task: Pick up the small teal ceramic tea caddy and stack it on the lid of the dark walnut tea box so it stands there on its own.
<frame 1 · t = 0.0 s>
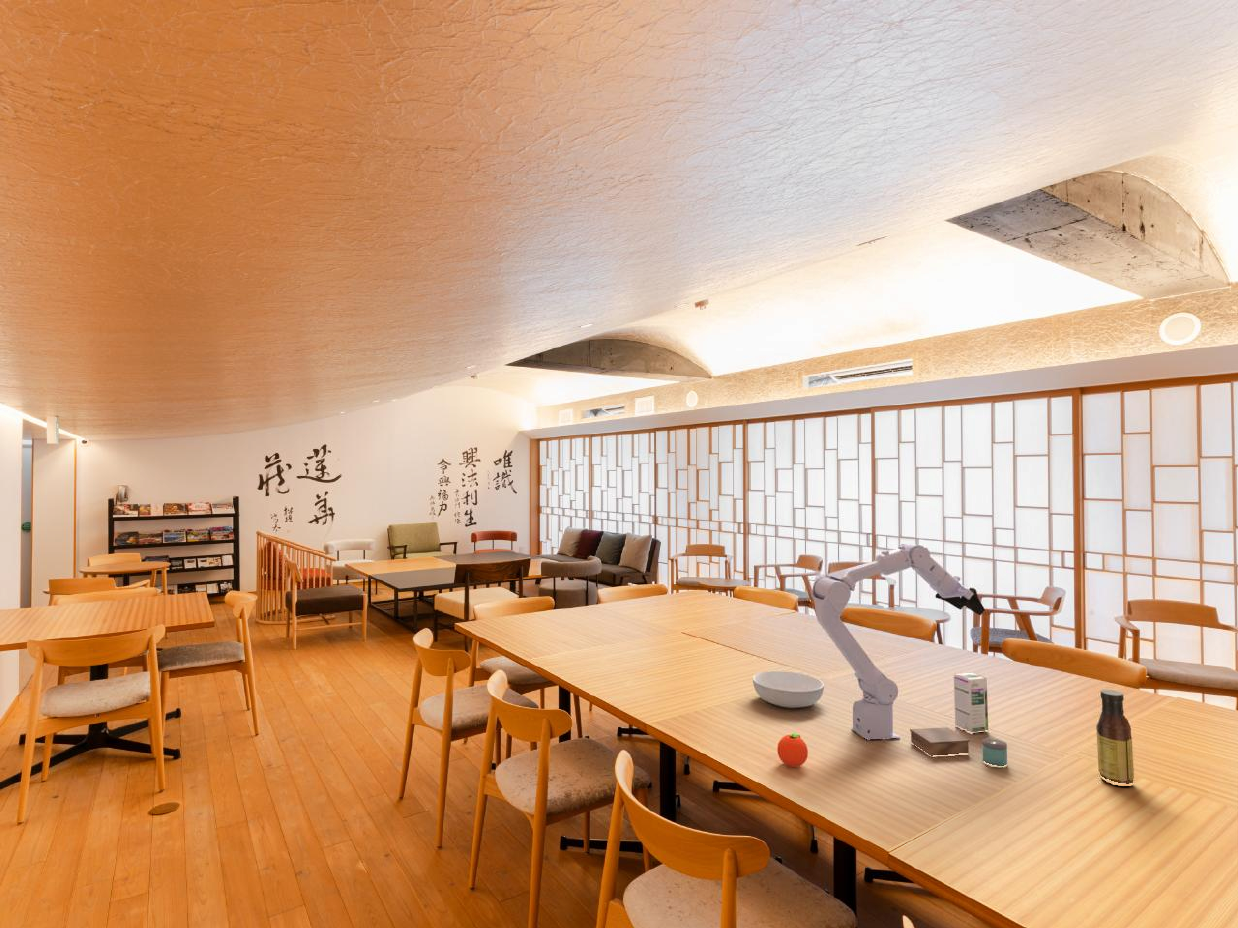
hand: (972, 609, 172), 32 cm above the table, tool tilted 50°, fingers open, 7 cm apart
tea caddy: (994, 763, 149), on the table
tomato: (793, 765, 148), on the table
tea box: (939, 750, 157), on the table
serving bowl: (788, 703, 191), on the table
syrup box: (971, 730, 170), on the table
sauce bottle: (1115, 783, 140), on the table
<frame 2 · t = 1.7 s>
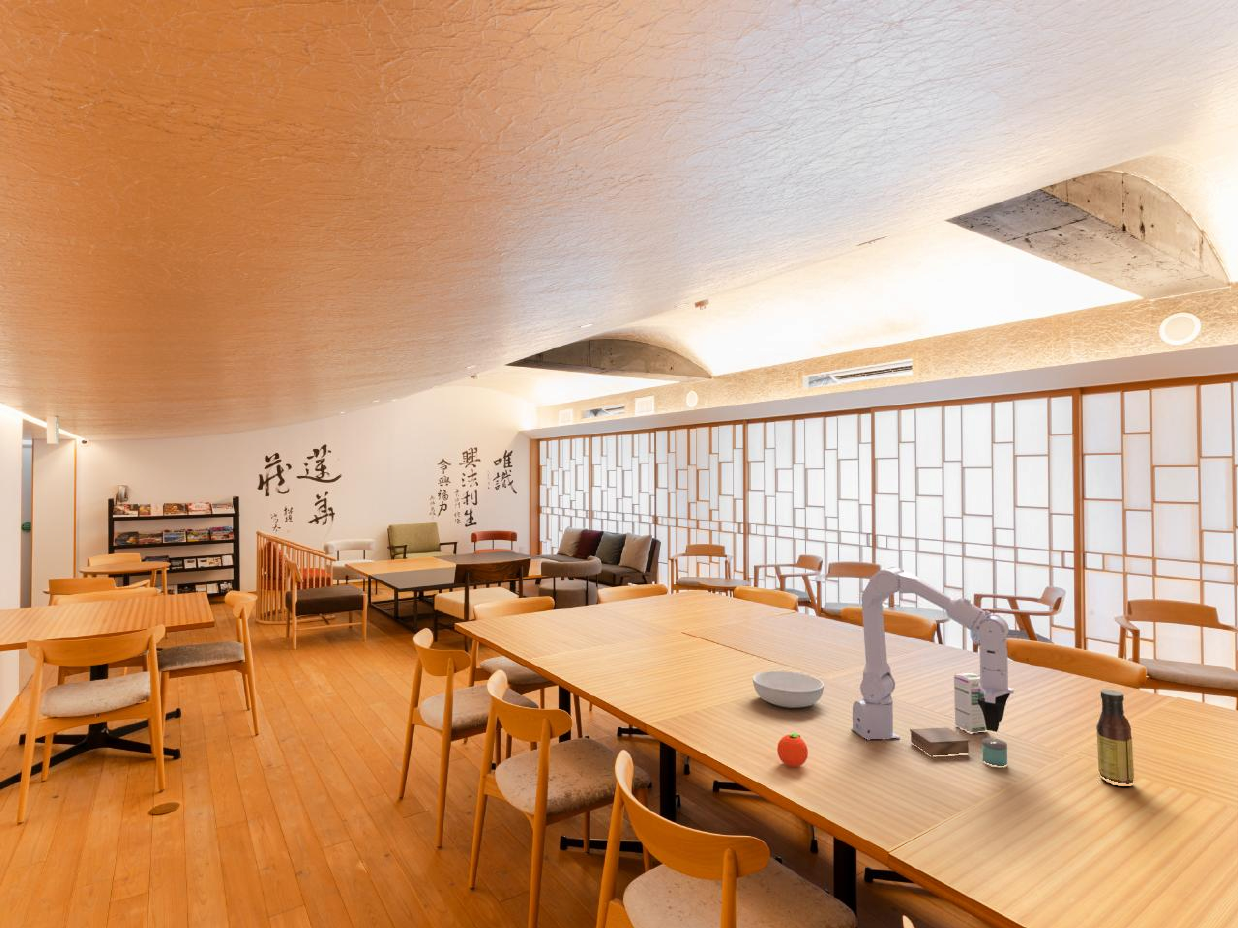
hand: (994, 725, 150), 9 cm above the table, tool pointing down, fingers open, 7 cm apart
nothing on the table moved.
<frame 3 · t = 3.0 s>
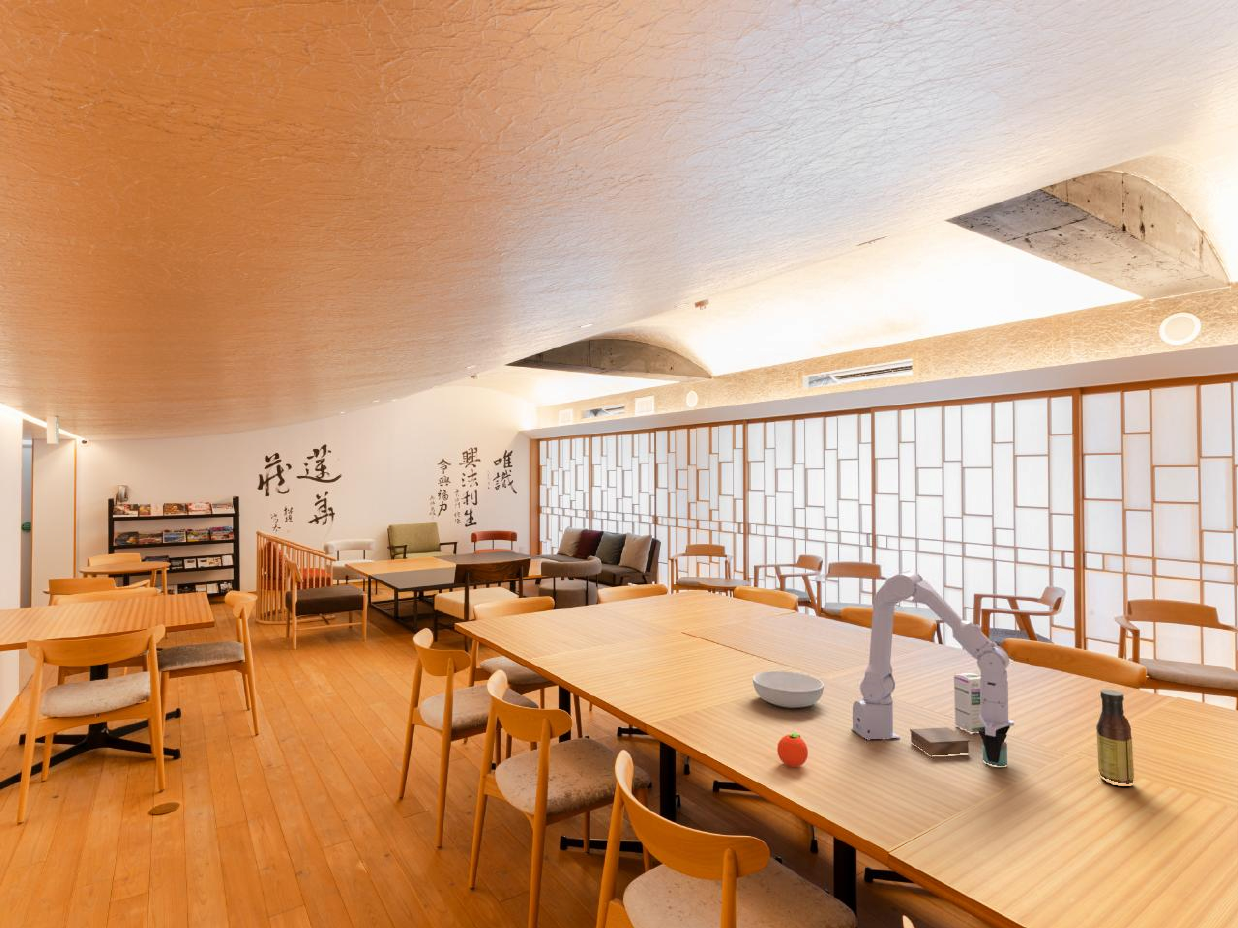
hand: (994, 757, 149), 1 cm above the table, tool pointing down, fingers closed on tea caddy, 5 cm apart
tea caddy: (994, 763, 149), on the table, touching gripper
everything else where it was.
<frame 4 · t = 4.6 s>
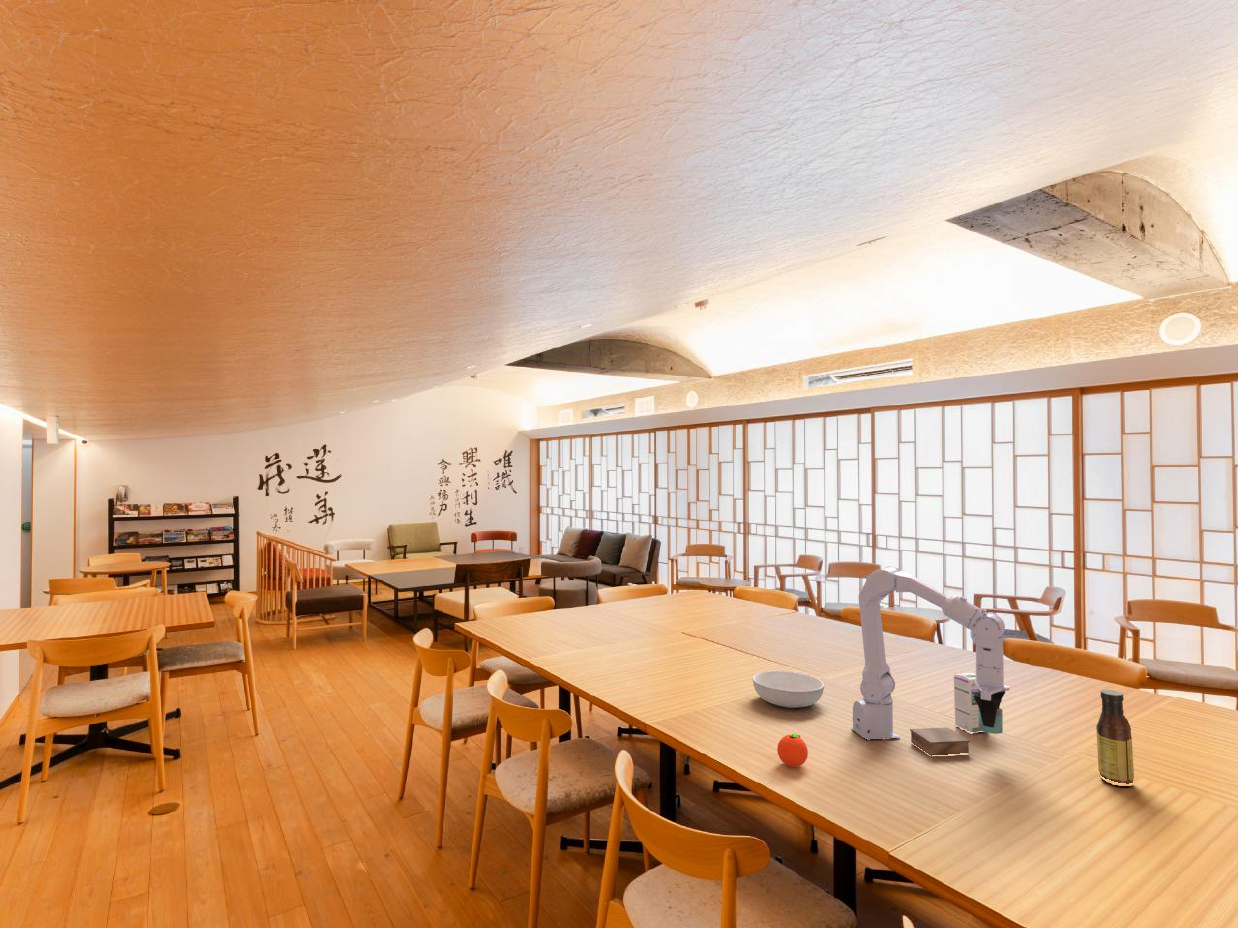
hand: (990, 722, 150), 9 cm above the table, tool pointing down, fingers closed on tea caddy, 5 cm apart
tea caddy: (990, 729, 150), point 8 cm above the table, touching gripper
everything else where it was.
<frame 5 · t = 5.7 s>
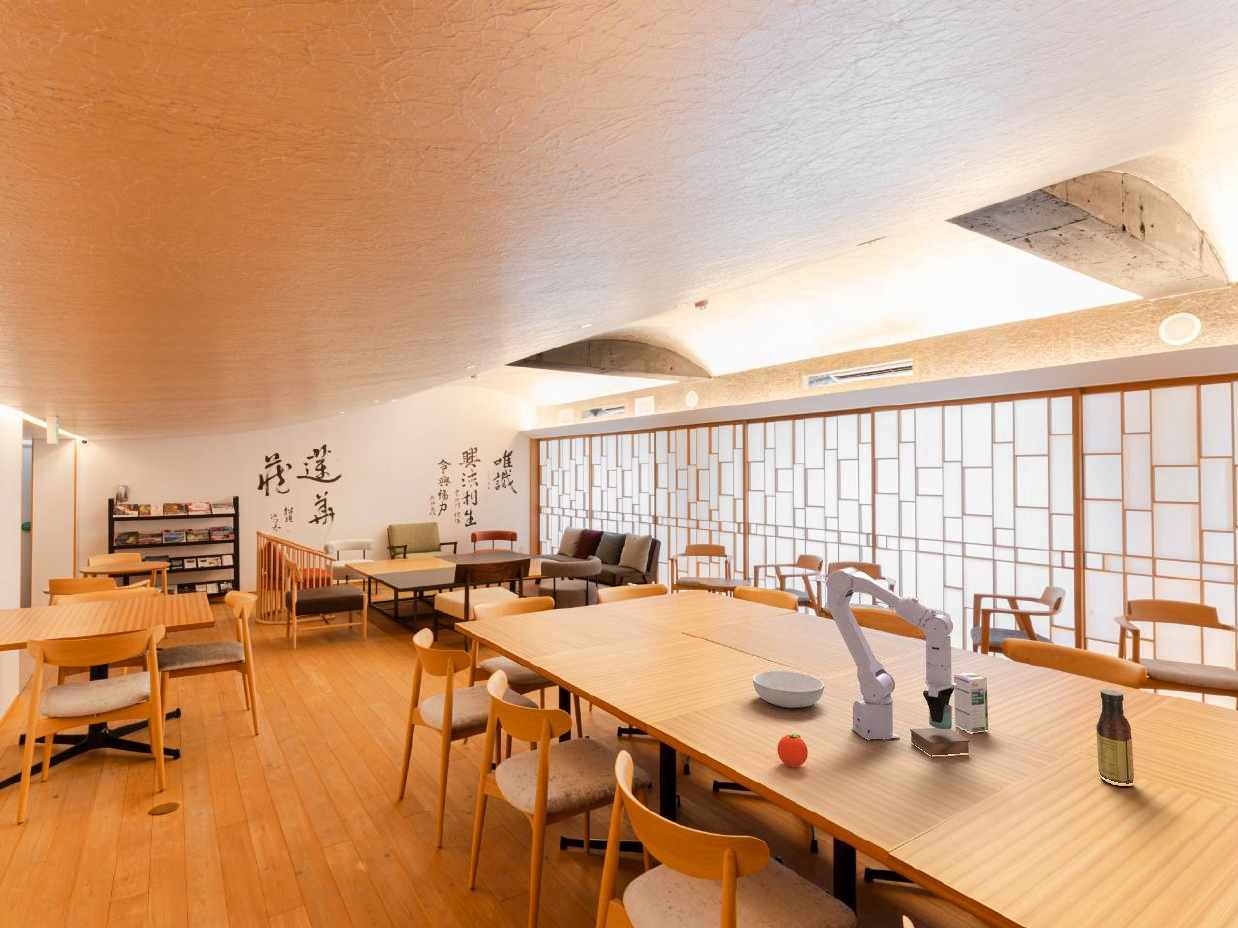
hand: (939, 718, 157), 8 cm above the table, tool pointing down, fingers closed on tea caddy, 5 cm apart
tea caddy: (940, 725, 157), point 6 cm above the table, touching gripper
everything else where it was.
when the fingers open (6 cm above the table, at t = 6.5 s): tea caddy drops 1 cm, resting on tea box.
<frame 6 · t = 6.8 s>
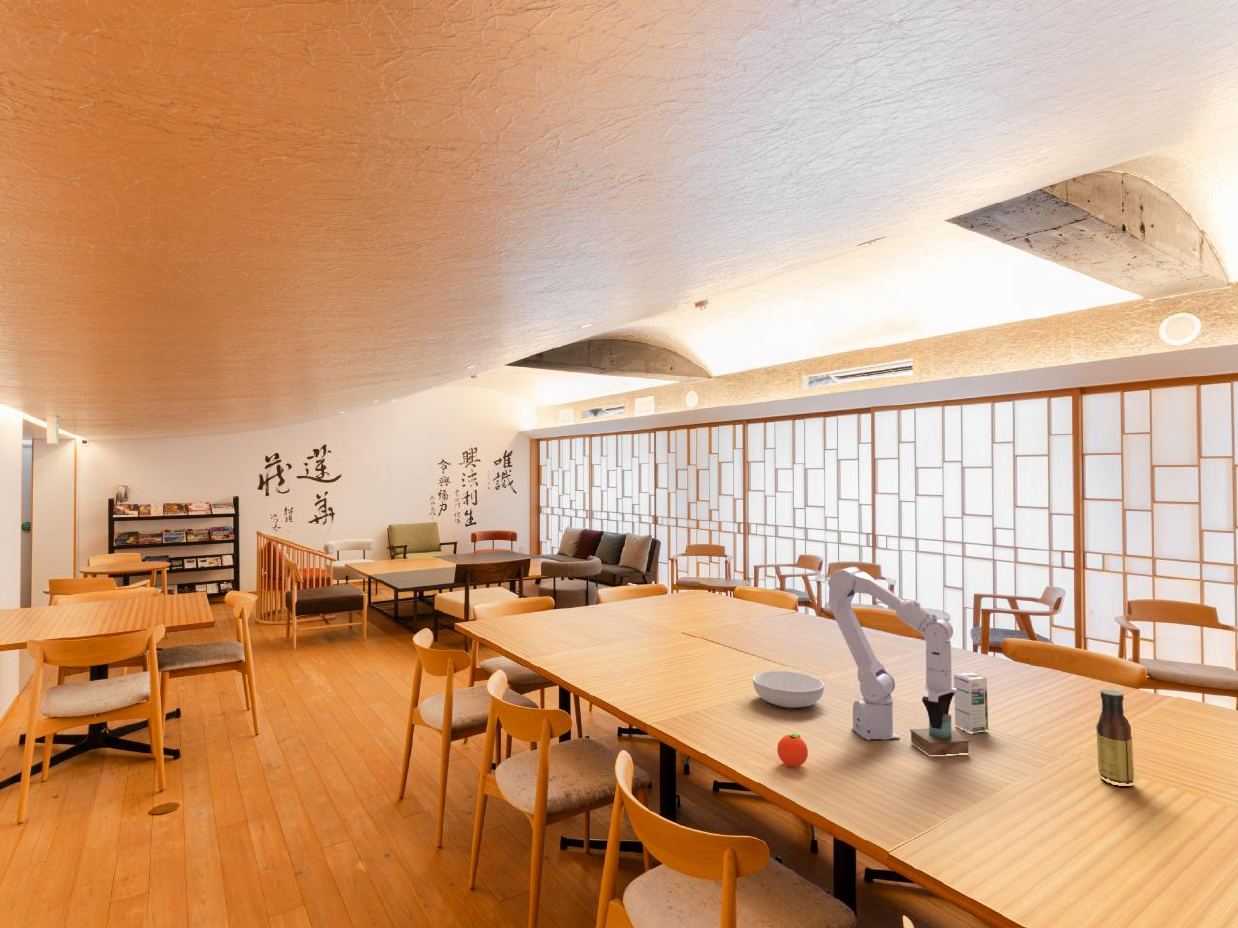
hand: (939, 723, 157), 6 cm above the table, tool pointing down, fingers open, 7 cm apart
tea caddy: (940, 735, 157), point 4 cm above the table, touching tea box
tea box: (939, 751, 157), on the table, touching tea caddy
everything else where it was.
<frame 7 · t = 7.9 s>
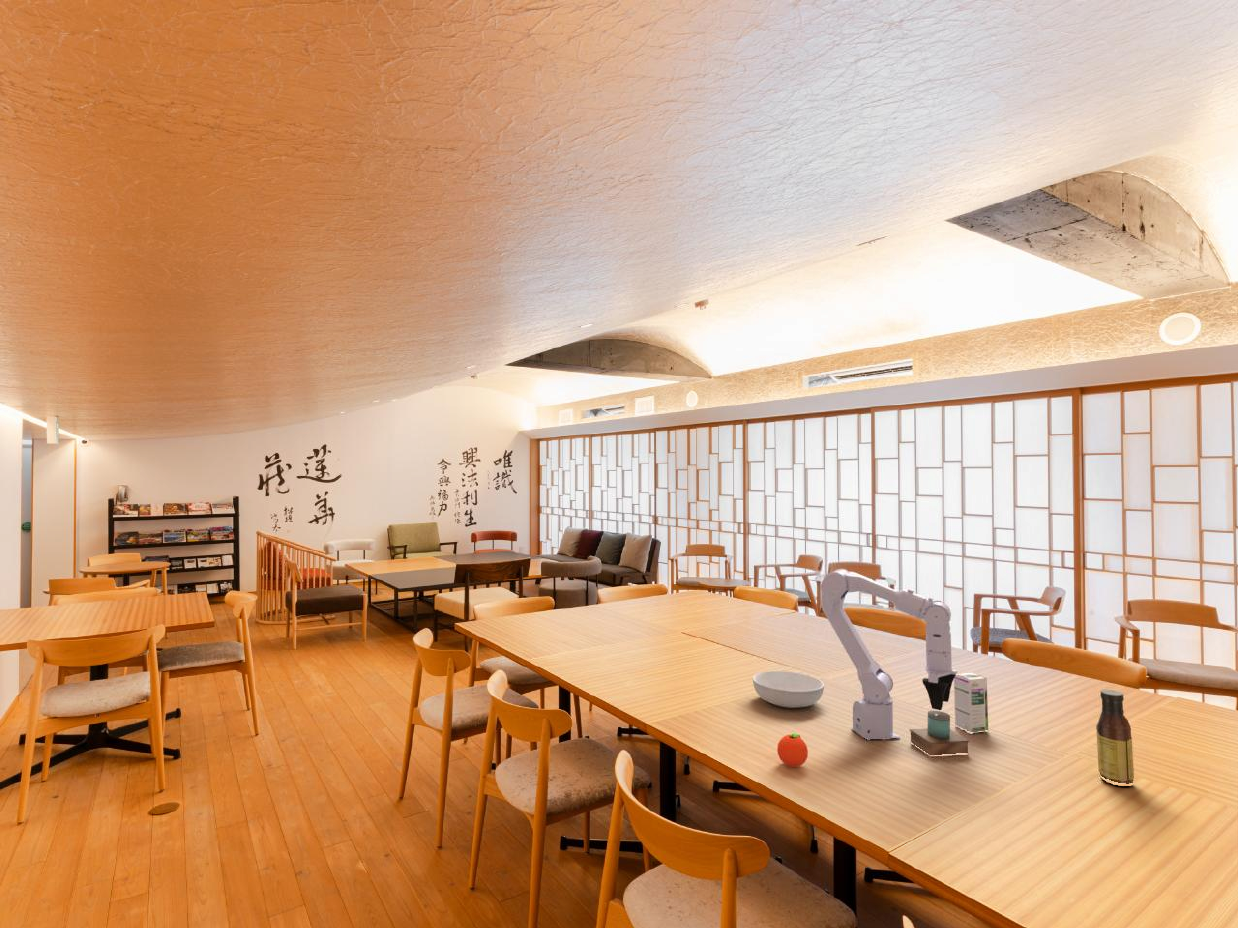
hand: (940, 704, 159), 10 cm above the table, tool pointing down, fingers open, 7 cm apart
nothing on the table moved.
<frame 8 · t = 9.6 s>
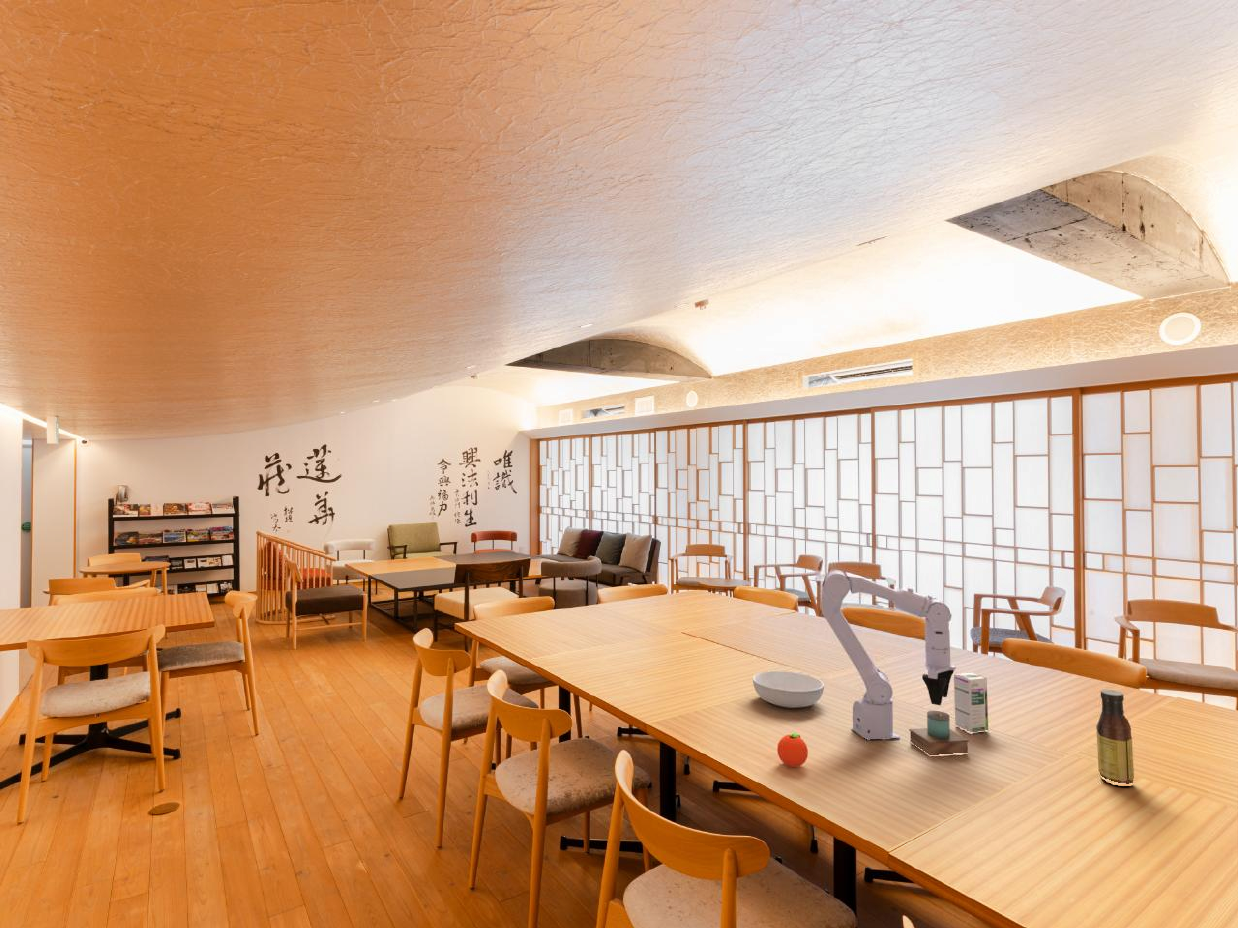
hand: (939, 700, 163), 10 cm above the table, tool pointing down, fingers open, 7 cm apart
tea caddy: (938, 734, 158), point 4 cm above the table
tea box: (938, 750, 157), on the table
everything else where it was.
at the end: tea caddy 0.1 cm off-centre on the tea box, point 4.0 cm above the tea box's base; tea caddy tilted 1°; the gripper is holding nothing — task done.
